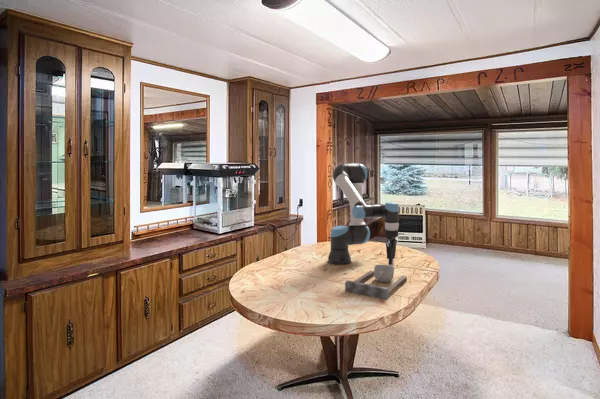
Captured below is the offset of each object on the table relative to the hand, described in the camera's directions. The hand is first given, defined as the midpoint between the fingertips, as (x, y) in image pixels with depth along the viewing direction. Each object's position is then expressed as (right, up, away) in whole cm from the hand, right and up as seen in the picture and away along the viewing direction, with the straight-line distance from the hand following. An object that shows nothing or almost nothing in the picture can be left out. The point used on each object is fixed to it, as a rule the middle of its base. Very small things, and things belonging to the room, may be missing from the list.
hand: (391, 269), depth 212 cm
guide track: (-11, -5, -17) cm, 21 cm away
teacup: (-7, -5, -10) cm, 13 cm away
